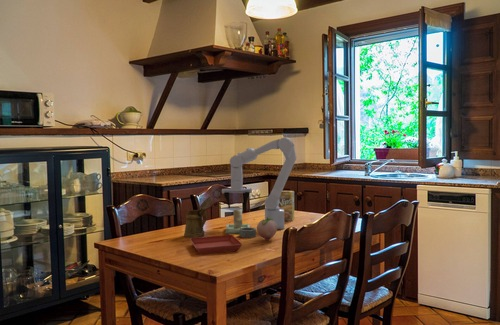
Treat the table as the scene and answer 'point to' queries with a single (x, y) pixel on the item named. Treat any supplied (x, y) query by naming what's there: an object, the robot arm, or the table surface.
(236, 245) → the plant saucer
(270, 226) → the decorative fruit
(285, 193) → the candy box
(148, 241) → the table surface
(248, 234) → the octagonal ring
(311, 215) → the table surface
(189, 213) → the brown wooden container
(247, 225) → the tray
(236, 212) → the dowel
